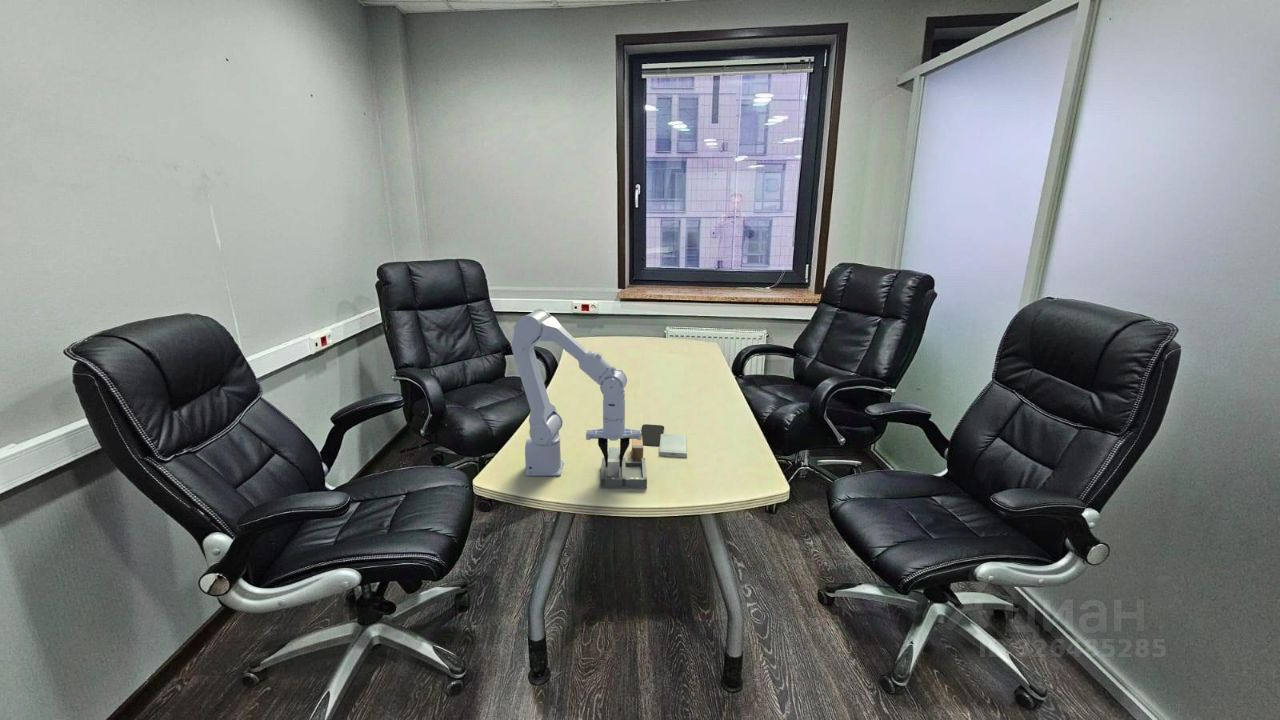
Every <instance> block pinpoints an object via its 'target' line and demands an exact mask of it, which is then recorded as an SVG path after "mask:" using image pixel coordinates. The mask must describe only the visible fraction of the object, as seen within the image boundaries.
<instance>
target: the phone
mask: <svg viewBox="0 0 1280 720" xmlns="http://www.w3.org/2000/svg"><path fill="white" fill-rule="evenodd" d="M641 425H642V426H641V428H640V430H641V436H642V441H643V447H644V446H646V447H649V446H650V447H660V438H661V434H665V433H664V432H665V426H664V425H661V424H649V423H648V424H646V423H645V424H641Z"/></svg>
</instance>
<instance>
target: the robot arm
mask: <svg viewBox="0 0 1280 720" xmlns="http://www.w3.org/2000/svg"><path fill="white" fill-rule="evenodd" d="M513 330H514V331H513V335H512V342H511V351H512V354H513V358H514V361H515V364H516V368H517V369H518V374H519V377H520V379H521V380H520V381H521V383H522V387H523V390H524V394H525V397H526V399H527V403H528V405H529V409H530V412H529V416H528V417H529V418H528V423H529V432H528V433H529V434H528V435H529V438H527V439H526V441H525V447H524V457H525V458H524V459H525V461H524V463H525V476H526V477H532V476H533V477H537V476H539V477H540V476H542V477H543V476H544V477H545V476H550V477H551V476H554V477H555V476H557V477H559V476H561V475H562V471H563V467H564V460H561V435H560V430H561V428H562V427H563V423H564V422H563V418H562V416H561V415H560V413H558V410H557V409H556V406H555V405H554V404H552V403H551V402H550V398H549V395H548V391H547V389H546V385H545V382H544V379H543V375H542V373H541V368H540V366H539V362H538V359H537V355H536V351H535V346H536V345H537V343H538V342H539V341H540V342H553V343H555V344H556V345H558V346H559V347H560V348H562V349H563V351H565V352H567V354H568V355H570V356H571V357H573V358H574V359H575V360H577V362H578V368H579V369H580V370H581V371H582V372H584V373H585V375H587V376H588V377H590V379H591V380H593V382H595V383H596V384H597V385H599V390H600V392H601V394H602V395H603V397H602V398H603V399H602V428H597V429H596V428H595V429H587V430H586V432H585V440H586V441H591V440H597V444H598V447H599V449H600V451H601V453H602V455H603V458H604V459H605V464H606V465H608V449H609V446H608V443H609V442H608V441H610V442H611V441H613V442H614V441H618V440H619V459H620V465H622V460H623V458H625V457H624V456H625V454H626V452H627V450H628V448H629V446H630V440H632V439H637V440H641V429H640V430H639V429H631V428H630V429H629V428H626V423H625V422H626V421H625V420H626V399H625V393H626V392H625V388H626V386H627V383H628V378H627V375H626V373H624V371H623V370H622V369H621V368H616V367H615V366H614V365H613V366H611V364H609V362H608V361H606V360H605V359H604V358H603V355H602V354H601V352H596V351H595V350H587V349H586V348H584V346H583V345H582V344H581V343H580V342H578V340H577V339H575V337H574V336H573V335H572V334H570V332H568V330H566V329H565V328H564V327H563V326H562V325H561V323H560V322H559V321H558V319H557V318H556V317H555V316H552V315H551V314H550V313H549V311H547V310H545V309H543V308H542V309H541V308H539V309H535V310H533V311H532V312H530V313H528V314H527V315H523V316H522V317H519V319H518V320H517V321H516V323H515V324H514V326H513Z"/></svg>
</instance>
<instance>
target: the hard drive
mask: <svg viewBox="0 0 1280 720" xmlns="http://www.w3.org/2000/svg"><path fill="white" fill-rule="evenodd" d="M687 438H688V437H687V435H686V434H671V433H670V434H669V433H666V434H665V433H663V434H661V438H660V446H659V447H658V449H659V451H658V456H661V457H676V458H677V457H679V458H687V457H688V444H687V443H688V439H687Z"/></svg>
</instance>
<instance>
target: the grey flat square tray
mask: <svg viewBox="0 0 1280 720" xmlns="http://www.w3.org/2000/svg"><path fill="white" fill-rule="evenodd" d="M626 459H627V458H626V457H623V460H622V465H620V471H619V477H608V465H606V464H605V459H604V457H602V458H601V471H600V472H601V473H600V489H647V488H648V475H647V474H648V473H647V464H646V463H647V462H646V457H643V458H641V461H632V460H626Z"/></svg>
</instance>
